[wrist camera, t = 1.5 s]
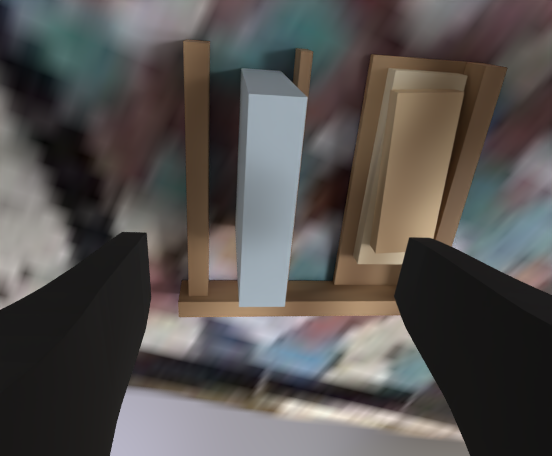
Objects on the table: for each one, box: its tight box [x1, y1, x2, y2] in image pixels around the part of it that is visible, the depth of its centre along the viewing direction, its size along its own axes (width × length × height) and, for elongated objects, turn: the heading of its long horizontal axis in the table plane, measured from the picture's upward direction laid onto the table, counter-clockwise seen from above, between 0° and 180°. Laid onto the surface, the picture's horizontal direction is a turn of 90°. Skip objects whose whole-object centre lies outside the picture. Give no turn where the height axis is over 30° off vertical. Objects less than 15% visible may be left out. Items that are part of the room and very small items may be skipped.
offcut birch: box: [353, 68, 468, 264], centre depth 21 cm, size 3×10×1 cm, turn 176°
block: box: [235, 68, 308, 307], centre depth 17 cm, size 2×8×7 cm, turn 175°
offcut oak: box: [370, 89, 464, 254], centre depth 20 cm, size 3×8×1 cm, turn 0°
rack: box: [178, 39, 507, 317], centre depth 21 cm, size 14×14×2 cm
